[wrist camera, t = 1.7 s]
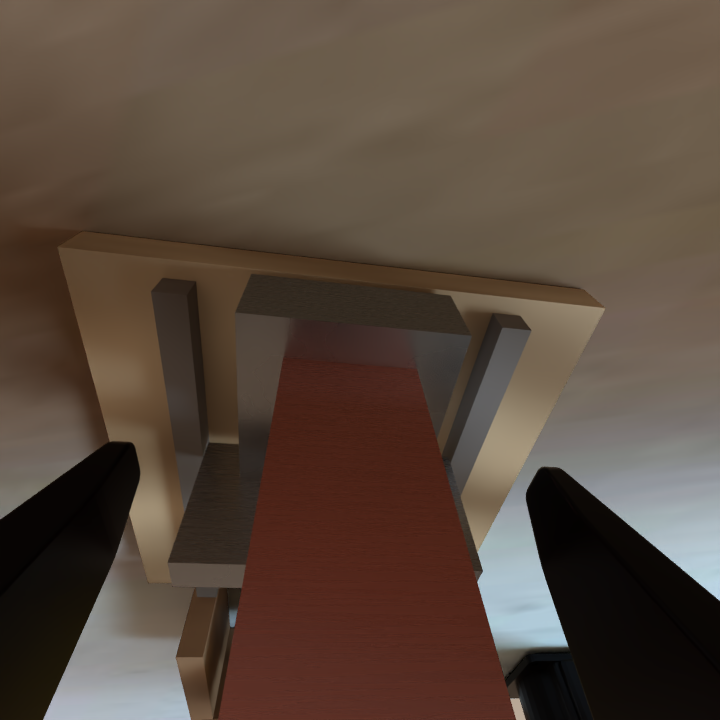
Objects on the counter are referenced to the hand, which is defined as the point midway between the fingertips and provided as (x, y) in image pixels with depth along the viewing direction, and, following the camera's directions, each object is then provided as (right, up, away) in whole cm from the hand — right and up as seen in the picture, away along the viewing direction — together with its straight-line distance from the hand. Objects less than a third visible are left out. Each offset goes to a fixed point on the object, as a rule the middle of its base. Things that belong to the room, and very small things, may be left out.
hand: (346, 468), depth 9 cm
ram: (0, +2, +3) cm, 4 cm away
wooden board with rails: (-1, -1, +7) cm, 7 cm away
